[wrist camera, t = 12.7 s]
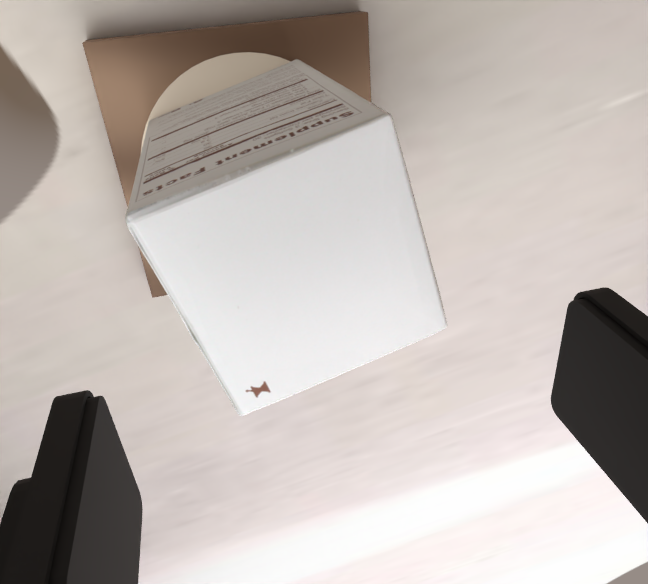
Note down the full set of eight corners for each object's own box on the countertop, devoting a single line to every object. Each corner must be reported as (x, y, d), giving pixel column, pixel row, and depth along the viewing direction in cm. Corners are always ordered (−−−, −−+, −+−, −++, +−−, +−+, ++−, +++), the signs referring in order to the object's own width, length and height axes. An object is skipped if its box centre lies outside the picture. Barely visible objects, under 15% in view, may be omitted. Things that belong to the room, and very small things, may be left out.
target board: (86, 40, 23) (82, 43, 22) (360, 11, 25) (368, 12, 24) (153, 286, 29) (152, 299, 28) (370, 248, 31) (377, 258, 30)
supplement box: (348, 200, 28) (455, 336, 17) (212, 256, 28) (234, 428, 17) (301, 52, 24) (400, 107, 13) (142, 114, 24) (113, 221, 13)
